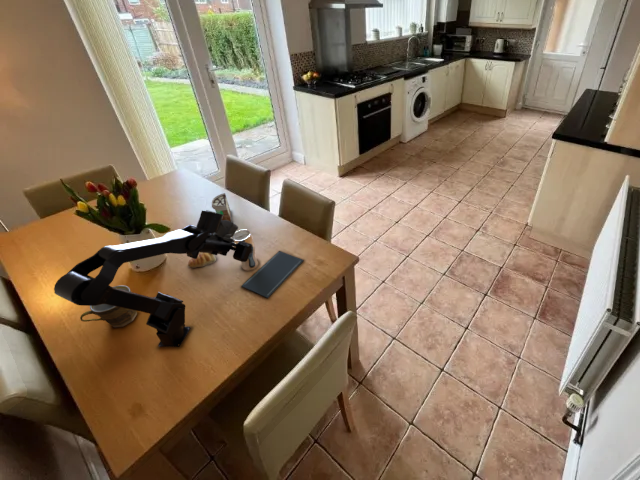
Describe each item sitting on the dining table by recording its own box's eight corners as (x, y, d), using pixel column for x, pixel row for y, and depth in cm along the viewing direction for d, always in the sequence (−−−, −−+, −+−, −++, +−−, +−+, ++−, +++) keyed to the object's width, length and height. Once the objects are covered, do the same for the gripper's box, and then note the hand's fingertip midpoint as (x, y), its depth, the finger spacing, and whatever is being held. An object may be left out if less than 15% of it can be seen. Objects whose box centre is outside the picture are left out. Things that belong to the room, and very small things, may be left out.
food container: (216, 212, 150) (210, 195, 145) (230, 209, 152) (225, 192, 147) (216, 227, 141) (210, 209, 136) (231, 224, 143) (225, 206, 138)
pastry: (191, 272, 118) (187, 265, 116) (187, 262, 122) (184, 255, 120) (217, 261, 123) (214, 254, 121) (213, 252, 127) (210, 245, 125)
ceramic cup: (137, 300, 107) (124, 280, 102) (147, 316, 102) (134, 296, 96) (89, 326, 99) (72, 306, 93) (98, 346, 93) (81, 325, 88)
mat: (267, 298, 108) (267, 297, 108) (241, 286, 112) (241, 285, 112) (303, 260, 124) (303, 259, 123) (279, 251, 128) (279, 250, 128)
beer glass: (236, 267, 120) (226, 237, 112) (250, 256, 125) (242, 226, 117) (249, 274, 117) (240, 243, 110) (263, 262, 123) (255, 232, 115)
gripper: (241, 226, 100) (270, 232, 114) (197, 213, 105) (230, 221, 120) (229, 261, 98) (260, 263, 112) (185, 246, 103) (220, 249, 118)
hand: (242, 247), depth 116 cm, fingers open, 9 cm apart
